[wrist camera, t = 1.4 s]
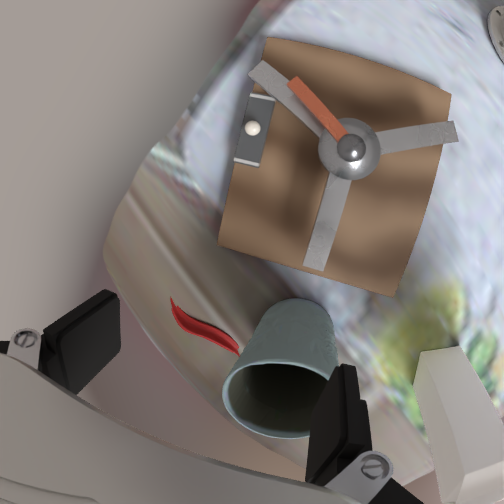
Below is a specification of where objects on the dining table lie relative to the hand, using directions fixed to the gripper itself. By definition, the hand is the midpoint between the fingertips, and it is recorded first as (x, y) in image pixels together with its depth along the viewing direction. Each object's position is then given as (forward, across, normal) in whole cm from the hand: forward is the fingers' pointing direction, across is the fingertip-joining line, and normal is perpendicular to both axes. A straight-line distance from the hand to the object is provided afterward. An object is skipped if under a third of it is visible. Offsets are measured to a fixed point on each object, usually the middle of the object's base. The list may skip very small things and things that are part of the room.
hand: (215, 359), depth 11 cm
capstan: (+18, -4, -8) cm, 20 cm away
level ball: (+18, +4, -10) cm, 21 cm away
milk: (+20, -25, +10) cm, 34 cm away
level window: (+18, +4, -10) cm, 21 cm away
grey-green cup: (+20, -5, +10) cm, 23 cm away
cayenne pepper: (+21, +6, +13) cm, 26 cm away
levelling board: (+20, -4, -9) cm, 22 cm away
